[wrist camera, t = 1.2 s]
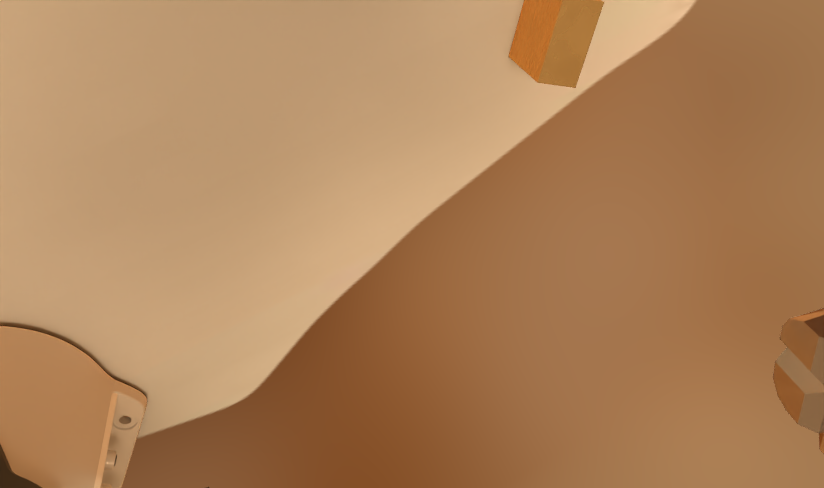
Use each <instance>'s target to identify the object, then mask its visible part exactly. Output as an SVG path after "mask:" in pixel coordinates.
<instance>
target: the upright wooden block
mask: <svg viewBox="0 0 824 488" xmlns="http://www.w3.org/2000/svg"><path fill="white" fill-rule="evenodd" d="M603 4H604V2H603V1H601V0H524V3H523V6H522V10H521V14H520V17H519V21H518V24H517V28H516V31H515V35H514V39H513V42H512V46H511V49H510V53H509V57H510V58H511V59H512V60H513V61H514V62H515V63H516V64H517V65H519V66H520V67H521V68H522V69H523V70H524V71H525V72H526V73H527V74H529V75H530V76H531V77H532V78H533V79H534V80H535V81H536V82H537V83H544V84H552V85H559V86H566V87H573V88H575V87H576V84H577V81H578V78H579V75H580V72H581V69H582V66H583V63H584V60H585V57H586V54H587V52H588V49H589V46H590V43H591V40H592V37H593V34H594V31H595V28H596V25H597V22H598V19H599V16H600V13H601V10H602V7H603Z"/></svg>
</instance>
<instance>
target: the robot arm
mask: <svg viewBox="0 0 824 488" xmlns="http://www.w3.org/2000/svg"><path fill="white" fill-rule="evenodd" d="M780 340H781V341H782V342H783V343H784V344H785V345H786V346H787V348H786V350H785V351H784V352H783V353H782V354H781V355H780V356H779V357H778V359H777V360H776V361H775V366H774V374H773V380H774V384H775V387H776V391H777V395H778V397H779V399H780V400H781V402H782V404H783V406H784V408H785V409H786V411H787V412H788V413H789V414H790V415H791V417H792V418H793V419H794V420H795V421H796V423H797V424H799V425H801V426H803V427H806V428H808V429H810V430H812V431H814V432H817V433H819V447H820V450H821V452H822V453H823V454H824V308H822V309H819V310H816V311H812V312H809V313H806V314H803V315H800V316H796V317H793V318H789V319H788V320H787V322H786V323H785V324H784V325H783V326H782V331H781V335H780ZM146 406H147V399H146V397H145V395H144V394H143V393H141V392H140V391H138V390H136V389H135V388H133V387H131V386H128V385H126V384H124V383H122V382H119V381H117V380H114V379H113V378H112V377H110V376H109V375H108V374H107V373H106V372H105V371H104V370H103V369H102V368H101V367H100V366H99V365H98V364H97V363H96V362H95V361H94V360H93V359H91V358H90V357H89V356H88V355H87V354H85V353H84V352H82V351H81V350H79V349H78V348H76V347H74V346H73V345H71V344H69V343H67V342H65V341H63V340H61V339H58V338H56V337H53V336H50V335H48V334H44V333H41V332H37V331H33V330H28V329H23V328H16V327H7V326H0V488H122V484H123V482H124V478H125V475H126V471H127V468H128V465H129V462H130V459H131V455H132V452H133V449H134V445H135V442H136V439H137V436H138V432H139V429H140V426H141V423H142V419H143V416H144V413H145V409H146ZM123 416H128V417H123ZM206 488H209V487H206Z"/></svg>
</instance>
